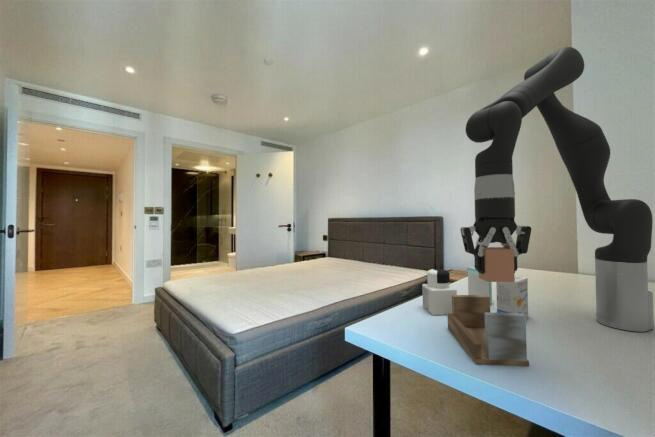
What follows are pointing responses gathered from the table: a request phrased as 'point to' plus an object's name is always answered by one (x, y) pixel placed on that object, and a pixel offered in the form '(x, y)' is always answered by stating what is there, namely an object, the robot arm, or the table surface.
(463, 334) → the shelf
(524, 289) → the ink box
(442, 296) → the container
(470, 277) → the can
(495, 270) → the book
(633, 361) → the table surface
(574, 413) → the table surface
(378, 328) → the table surface
